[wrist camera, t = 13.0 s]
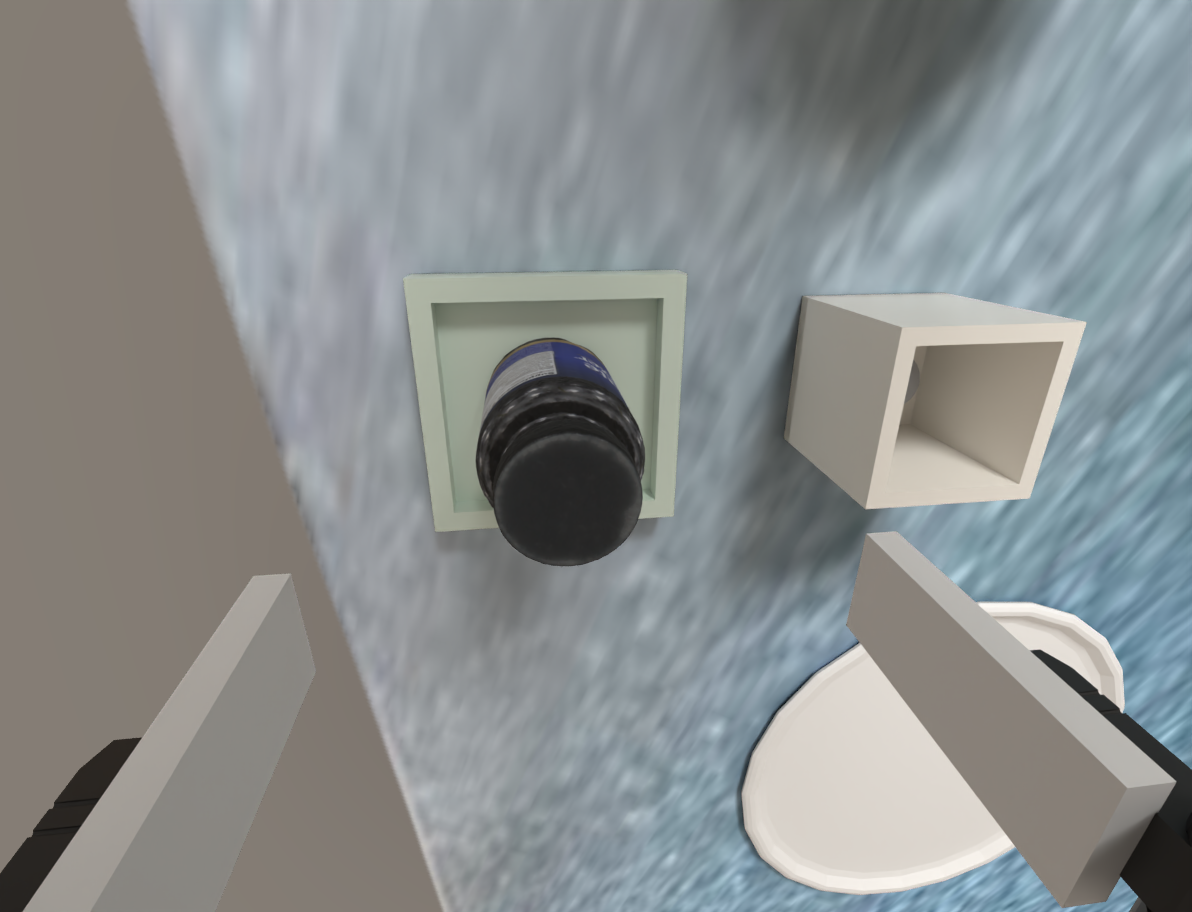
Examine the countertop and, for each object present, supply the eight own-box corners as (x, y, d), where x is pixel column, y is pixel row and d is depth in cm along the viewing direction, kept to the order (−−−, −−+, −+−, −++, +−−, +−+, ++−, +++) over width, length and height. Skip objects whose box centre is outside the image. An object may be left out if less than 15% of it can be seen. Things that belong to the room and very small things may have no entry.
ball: (844, 342, 29) (878, 356, 26) (900, 340, 29) (941, 354, 27) (834, 400, 30) (866, 420, 27) (889, 398, 30) (926, 417, 28)
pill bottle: (635, 417, 29) (698, 529, 19) (530, 478, 30) (538, 618, 20) (571, 308, 27) (607, 371, 17) (459, 377, 27) (427, 478, 17)
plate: (772, 921, 50) (778, 938, 49) (698, 677, 38) (703, 691, 37) (1099, 814, 50) (1113, 828, 49) (1128, 535, 38) (1148, 545, 37)
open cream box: (802, 295, 28) (902, 327, 21) (943, 292, 29) (1086, 322, 22) (783, 438, 31) (865, 509, 24) (912, 431, 32) (1029, 498, 25)
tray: (410, 274, 26) (402, 278, 24) (676, 269, 27) (687, 274, 25) (439, 514, 30) (435, 532, 29) (665, 500, 32) (673, 516, 30)
